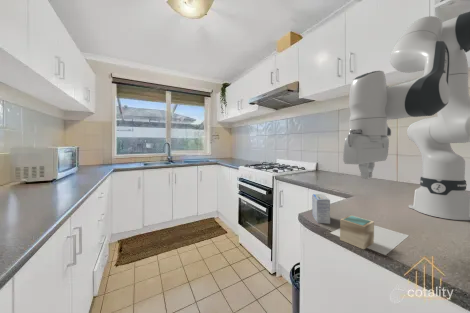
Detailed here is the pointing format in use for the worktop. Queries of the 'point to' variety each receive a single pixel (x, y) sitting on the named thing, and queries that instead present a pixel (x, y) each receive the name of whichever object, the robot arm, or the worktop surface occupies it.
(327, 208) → the medicine box
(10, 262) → the worktop surface
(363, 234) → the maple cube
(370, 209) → the worktop surface
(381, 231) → the white flat sheet
